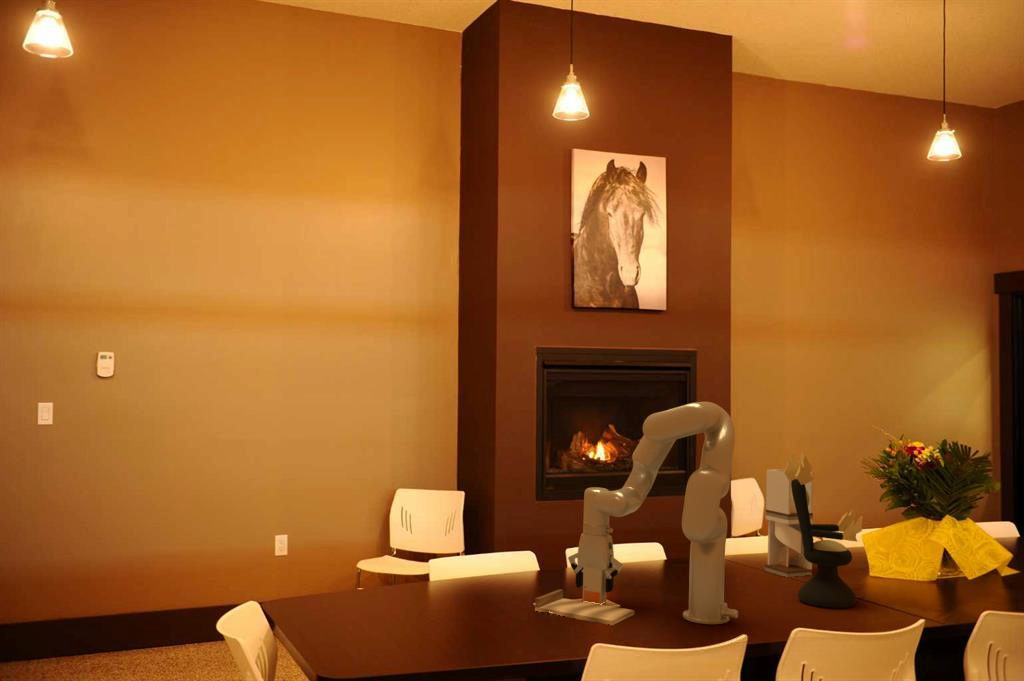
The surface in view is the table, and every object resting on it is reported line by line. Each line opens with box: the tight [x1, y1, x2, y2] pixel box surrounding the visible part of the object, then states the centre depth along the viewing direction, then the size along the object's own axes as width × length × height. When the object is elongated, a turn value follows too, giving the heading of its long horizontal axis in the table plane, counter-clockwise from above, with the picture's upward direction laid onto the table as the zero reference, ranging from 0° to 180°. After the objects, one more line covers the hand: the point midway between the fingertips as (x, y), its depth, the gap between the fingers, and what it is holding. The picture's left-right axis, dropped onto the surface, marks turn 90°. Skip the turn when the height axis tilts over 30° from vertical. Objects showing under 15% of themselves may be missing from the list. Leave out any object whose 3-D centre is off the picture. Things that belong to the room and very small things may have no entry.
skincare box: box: [582, 562, 608, 604], centre depth 282 cm, size 6×4×12 cm
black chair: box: [784, 451, 864, 609], centre depth 291 cm, size 19×22×45 cm
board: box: [534, 589, 635, 626], centre depth 270 cm, size 24×14×4 cm, turn 58°
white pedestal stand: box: [764, 468, 814, 578], centre depth 332 cm, size 11×11×35 cm
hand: (594, 589), depth 282 cm, fingers open, 9 cm apart
